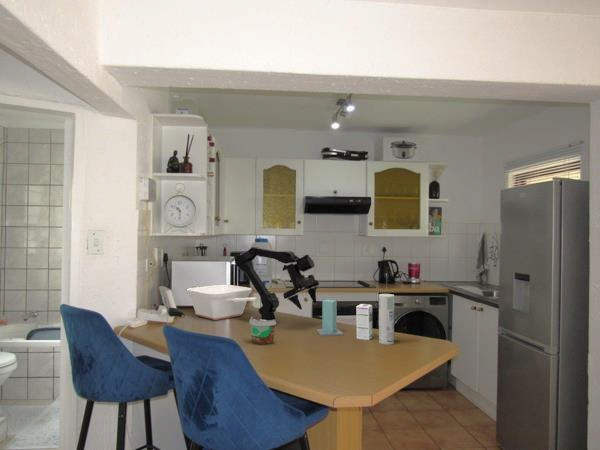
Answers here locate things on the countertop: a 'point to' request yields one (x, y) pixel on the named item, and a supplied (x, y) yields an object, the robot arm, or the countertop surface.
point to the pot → (219, 300)
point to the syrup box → (364, 321)
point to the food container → (262, 331)
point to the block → (329, 316)
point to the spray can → (386, 318)
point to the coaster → (329, 333)
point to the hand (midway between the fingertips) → (308, 306)
